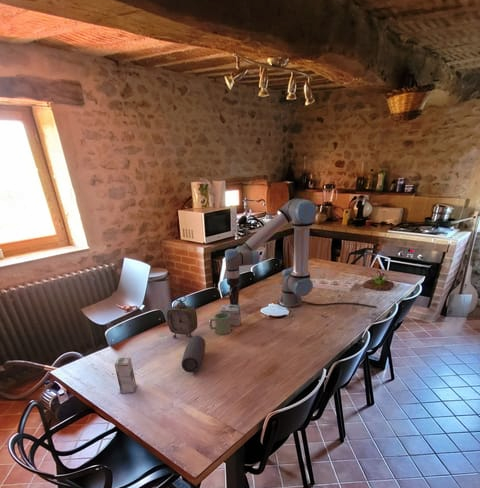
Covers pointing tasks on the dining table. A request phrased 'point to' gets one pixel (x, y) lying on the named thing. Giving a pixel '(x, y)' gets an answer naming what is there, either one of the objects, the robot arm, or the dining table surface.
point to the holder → (329, 284)
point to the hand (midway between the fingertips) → (235, 315)
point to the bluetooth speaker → (193, 354)
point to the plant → (379, 283)
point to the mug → (221, 323)
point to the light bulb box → (232, 313)
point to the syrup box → (125, 374)
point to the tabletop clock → (182, 318)
